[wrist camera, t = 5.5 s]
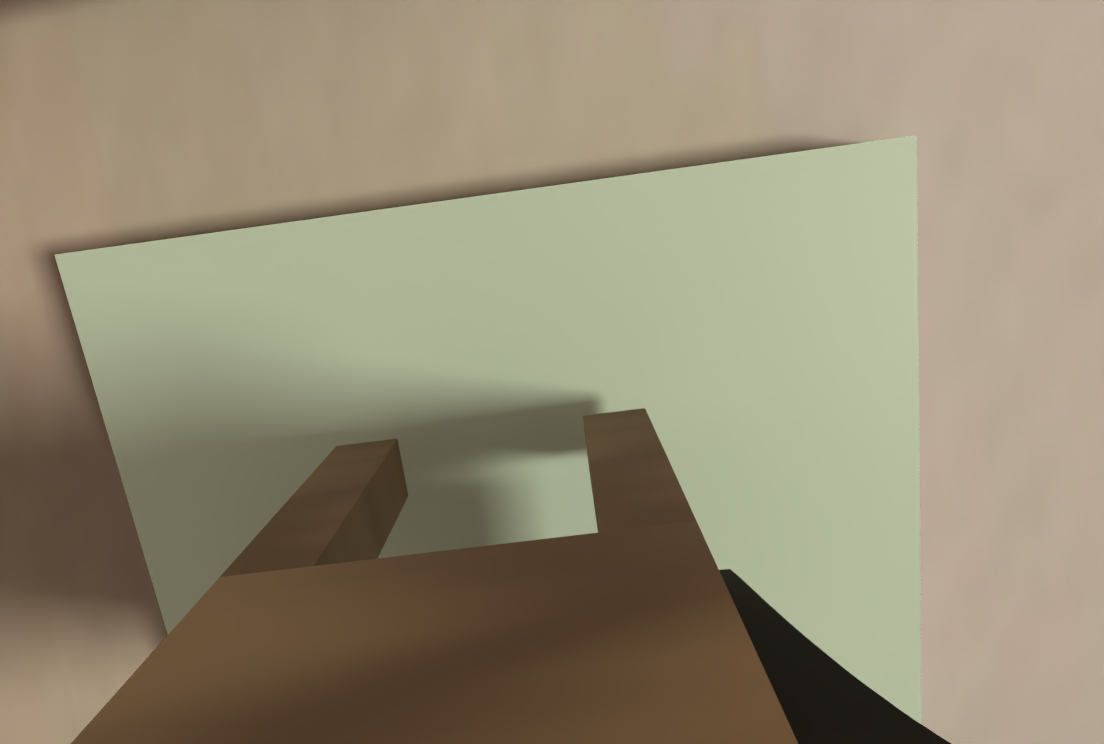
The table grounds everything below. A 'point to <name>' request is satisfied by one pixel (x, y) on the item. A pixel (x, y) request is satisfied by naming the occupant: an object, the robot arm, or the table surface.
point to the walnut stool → (461, 626)
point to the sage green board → (548, 375)
